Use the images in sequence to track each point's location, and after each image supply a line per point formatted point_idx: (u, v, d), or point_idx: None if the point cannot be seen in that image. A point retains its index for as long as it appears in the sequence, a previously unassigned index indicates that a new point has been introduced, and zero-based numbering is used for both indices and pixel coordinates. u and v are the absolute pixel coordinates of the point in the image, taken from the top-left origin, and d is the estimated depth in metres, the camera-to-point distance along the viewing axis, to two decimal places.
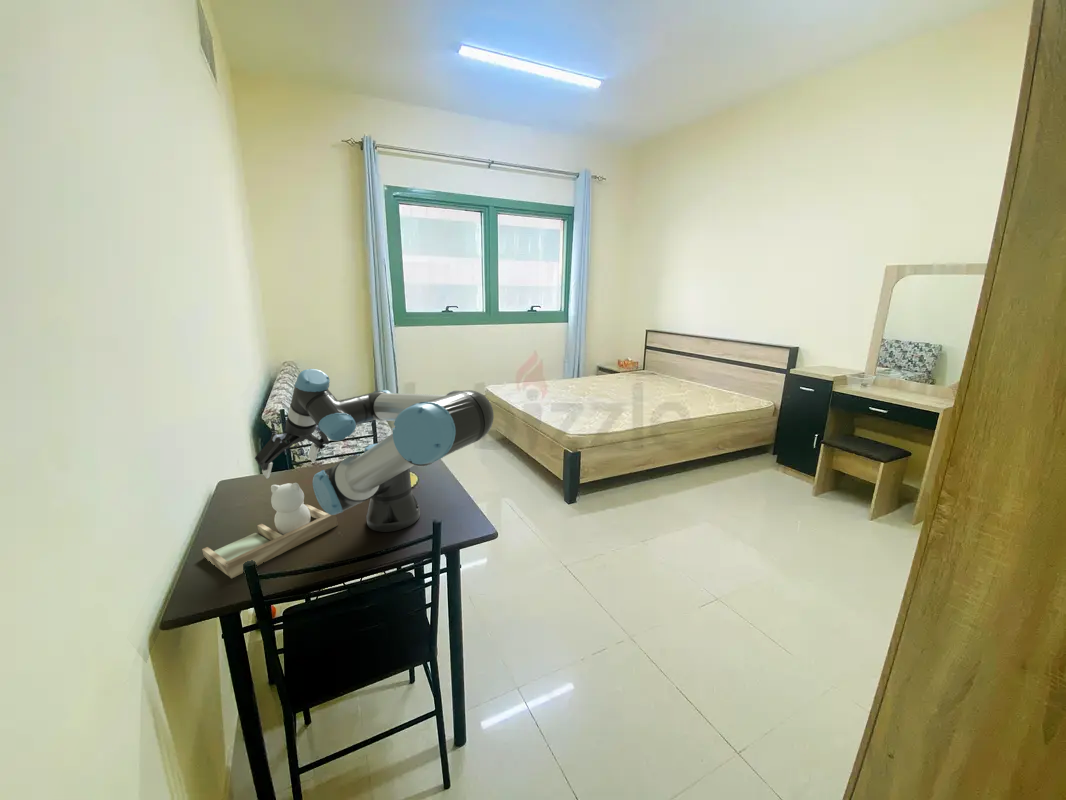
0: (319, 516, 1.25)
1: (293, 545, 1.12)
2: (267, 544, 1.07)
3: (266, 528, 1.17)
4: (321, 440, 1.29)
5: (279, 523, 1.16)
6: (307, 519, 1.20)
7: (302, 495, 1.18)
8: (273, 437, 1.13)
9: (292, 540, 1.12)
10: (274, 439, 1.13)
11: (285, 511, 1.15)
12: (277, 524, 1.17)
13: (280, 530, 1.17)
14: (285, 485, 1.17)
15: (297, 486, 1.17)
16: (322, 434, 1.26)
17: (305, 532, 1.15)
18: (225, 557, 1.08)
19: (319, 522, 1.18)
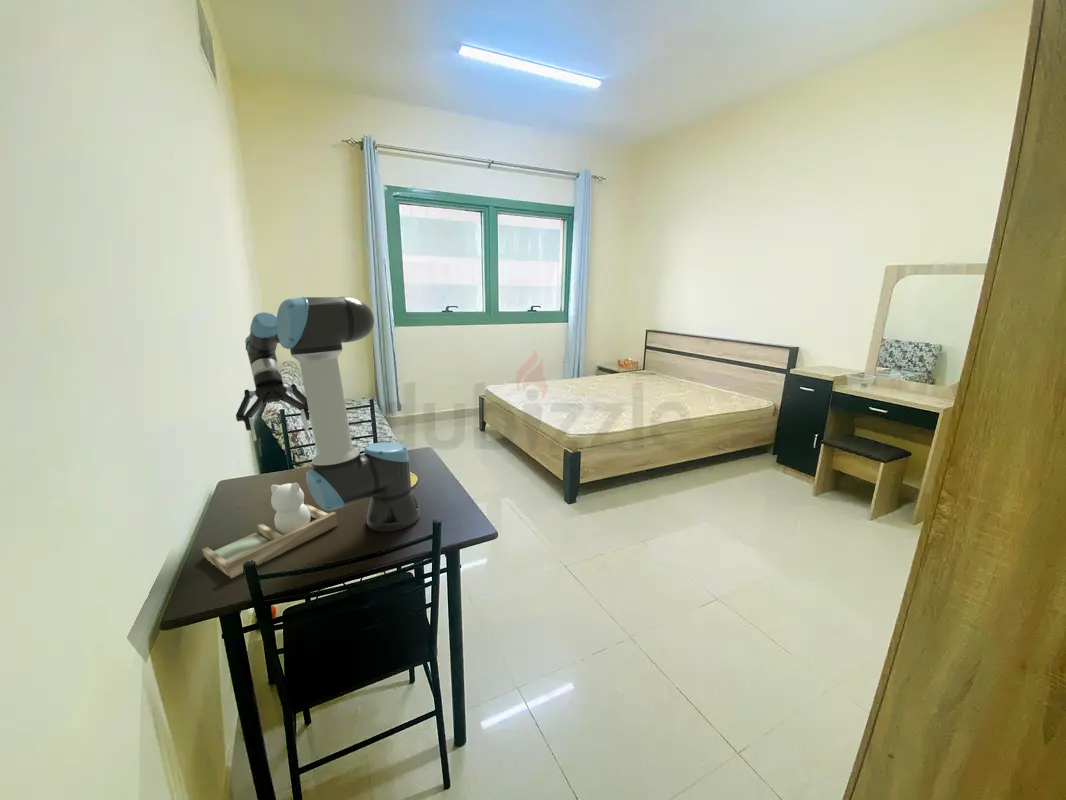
0: (319, 516, 1.25)
1: (293, 545, 1.12)
2: (267, 544, 1.07)
3: (266, 528, 1.17)
4: None
5: (279, 523, 1.16)
6: (307, 519, 1.20)
7: (302, 495, 1.18)
8: None
9: (292, 540, 1.12)
10: None
11: (285, 511, 1.15)
12: (277, 524, 1.17)
13: (280, 530, 1.17)
14: (285, 485, 1.17)
15: (297, 486, 1.17)
16: (297, 393, 1.34)
17: (305, 532, 1.15)
18: (225, 557, 1.08)
19: (319, 522, 1.18)
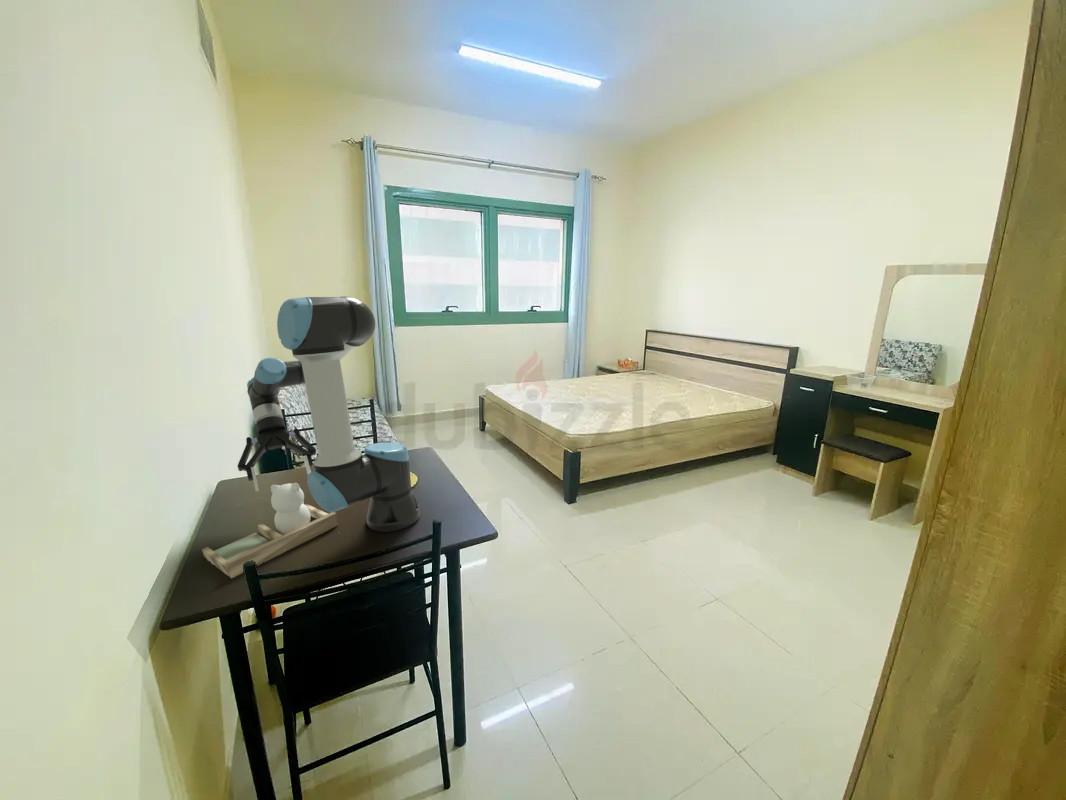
0: (319, 516, 1.25)
1: (293, 545, 1.12)
2: (267, 544, 1.07)
3: (266, 528, 1.17)
4: None
5: (279, 523, 1.16)
6: (307, 519, 1.20)
7: (302, 495, 1.18)
8: None
9: (292, 540, 1.12)
10: None
11: (285, 511, 1.15)
12: (277, 524, 1.17)
13: (280, 530, 1.17)
14: (285, 485, 1.17)
15: (297, 486, 1.17)
16: (300, 438, 1.31)
17: (305, 532, 1.15)
18: (225, 557, 1.08)
19: (319, 522, 1.18)
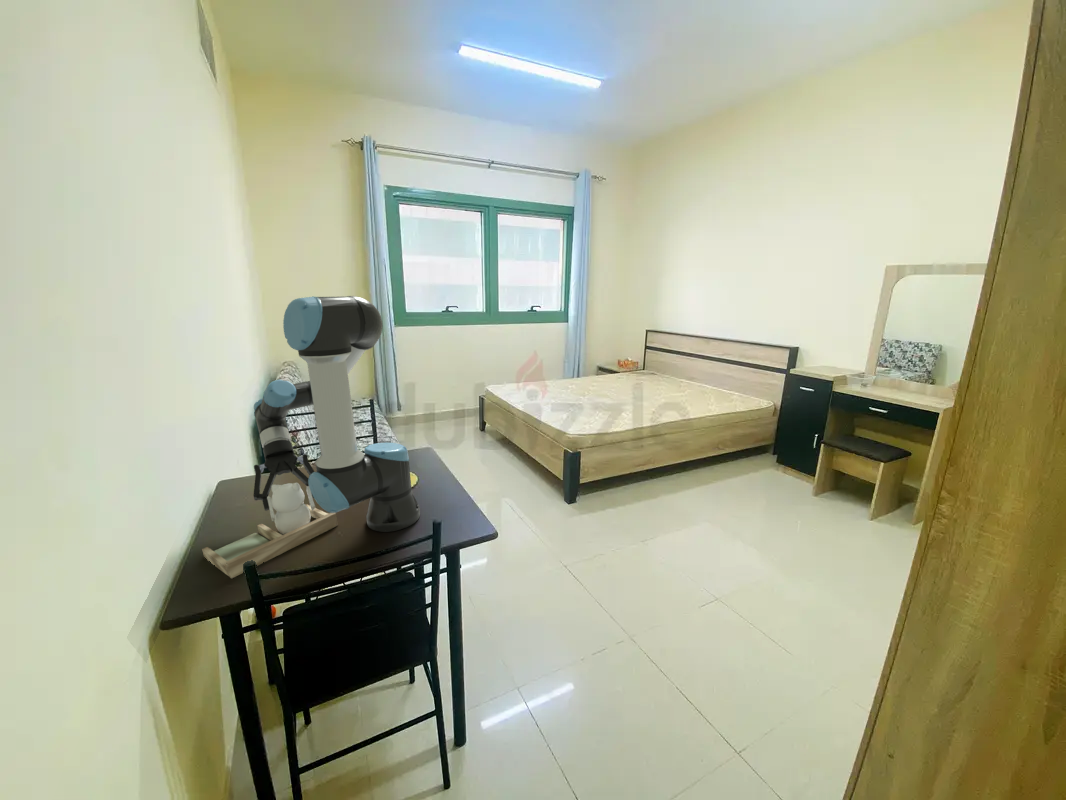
0: (319, 516, 1.25)
1: (293, 545, 1.12)
2: (267, 544, 1.07)
3: (266, 528, 1.17)
4: None
5: (279, 523, 1.16)
6: (307, 519, 1.20)
7: (302, 495, 1.18)
8: (254, 470, 1.21)
9: (292, 540, 1.12)
10: (254, 469, 1.20)
11: (285, 511, 1.15)
12: (277, 524, 1.17)
13: (280, 530, 1.17)
14: (286, 485, 1.17)
15: (298, 486, 1.17)
16: (307, 465, 1.26)
17: (305, 532, 1.15)
18: (225, 557, 1.08)
19: (319, 522, 1.18)
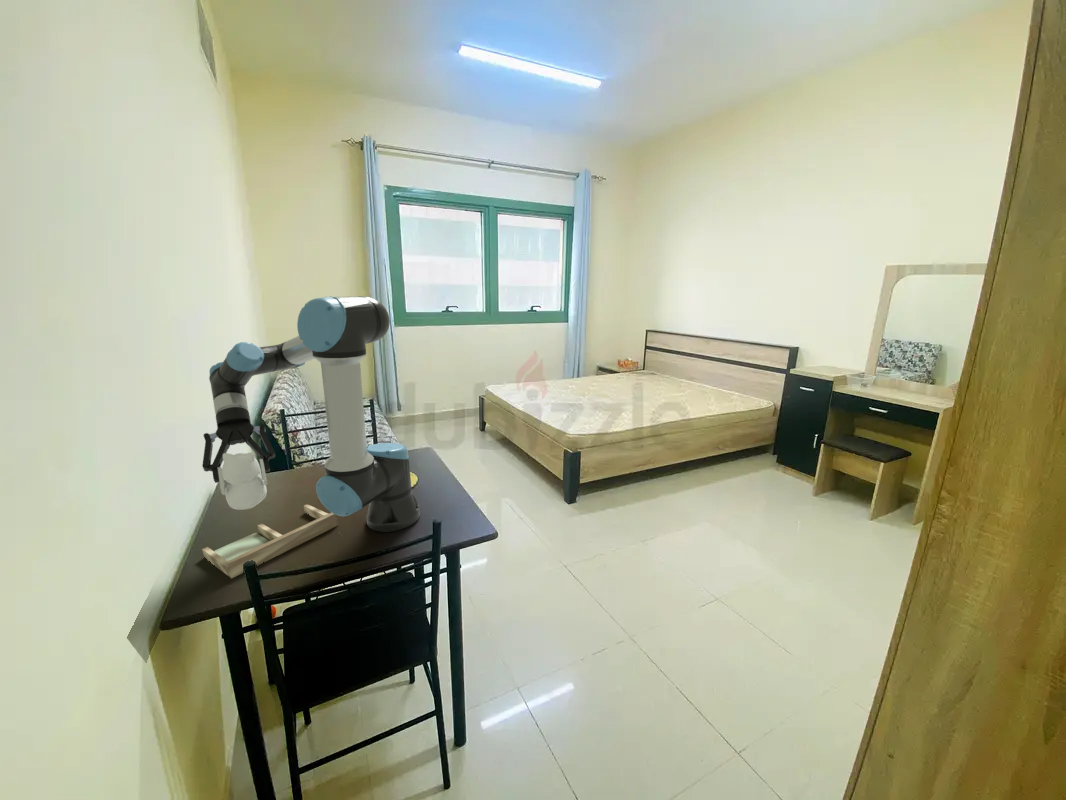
0: (319, 516, 1.25)
1: (293, 545, 1.12)
2: (267, 544, 1.07)
3: (266, 528, 1.17)
4: None
5: (229, 496, 1.06)
6: (262, 494, 1.10)
7: (257, 467, 1.08)
8: None
9: (292, 540, 1.12)
10: None
11: (236, 483, 1.05)
12: (227, 497, 1.07)
13: (230, 503, 1.07)
14: (239, 454, 1.07)
15: (252, 456, 1.07)
16: (263, 436, 1.15)
17: (305, 532, 1.15)
18: (225, 557, 1.08)
19: (319, 522, 1.18)
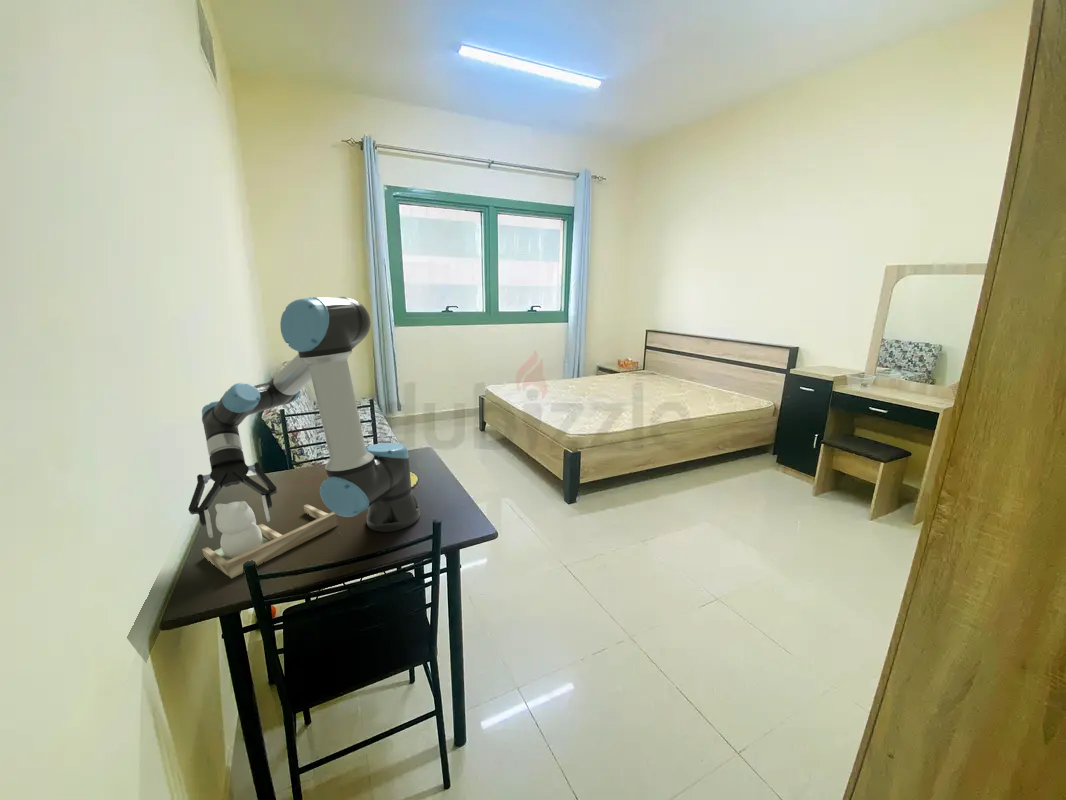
0: (319, 516, 1.25)
1: (293, 545, 1.12)
2: (267, 544, 1.07)
3: (266, 528, 1.17)
4: None
5: (225, 546, 1.06)
6: (257, 540, 1.10)
7: (251, 514, 1.08)
8: None
9: (292, 540, 1.12)
10: None
11: (231, 533, 1.04)
12: (223, 547, 1.06)
13: (226, 553, 1.06)
14: (231, 504, 1.06)
15: (245, 505, 1.06)
16: (260, 474, 1.15)
17: (305, 532, 1.15)
18: (225, 557, 1.08)
19: (319, 522, 1.18)
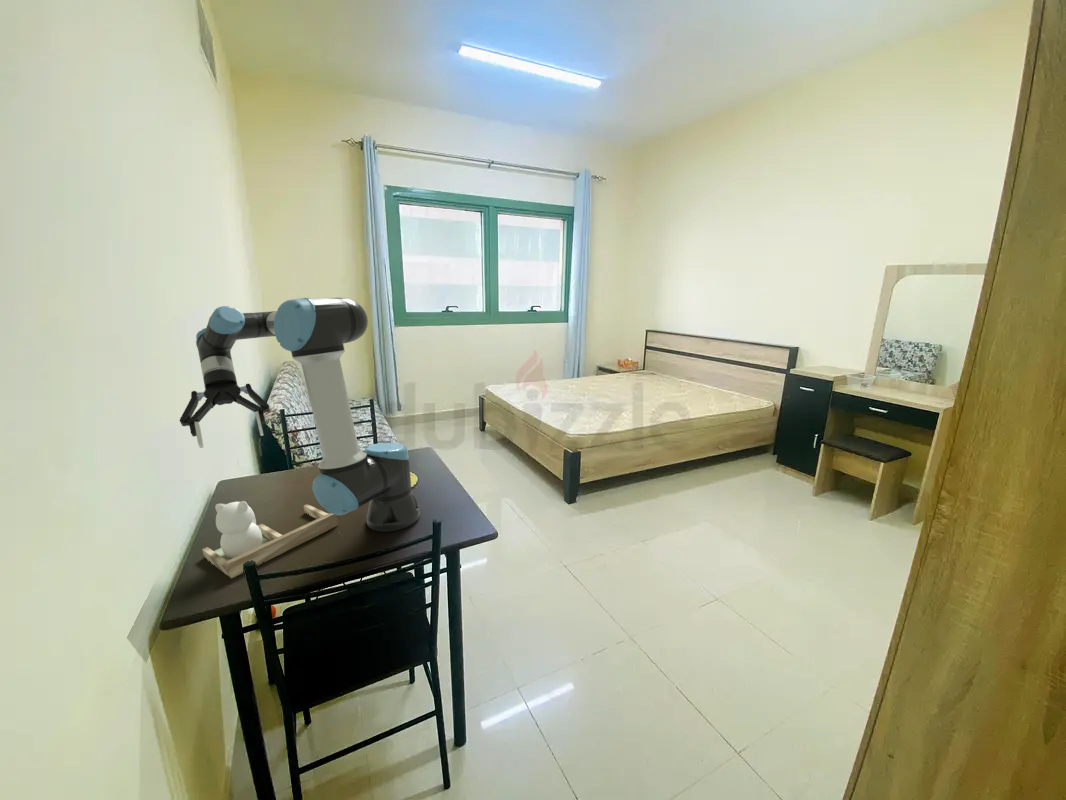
0: (319, 516, 1.25)
1: (293, 545, 1.12)
2: (267, 544, 1.07)
3: (266, 528, 1.17)
4: None
5: (225, 546, 1.06)
6: (257, 540, 1.10)
7: (251, 514, 1.08)
8: None
9: (292, 540, 1.12)
10: None
11: (231, 533, 1.04)
12: (223, 547, 1.06)
13: (226, 553, 1.06)
14: (231, 504, 1.06)
15: (245, 505, 1.06)
16: (252, 393, 1.21)
17: (305, 532, 1.15)
18: (225, 557, 1.08)
19: (319, 522, 1.18)
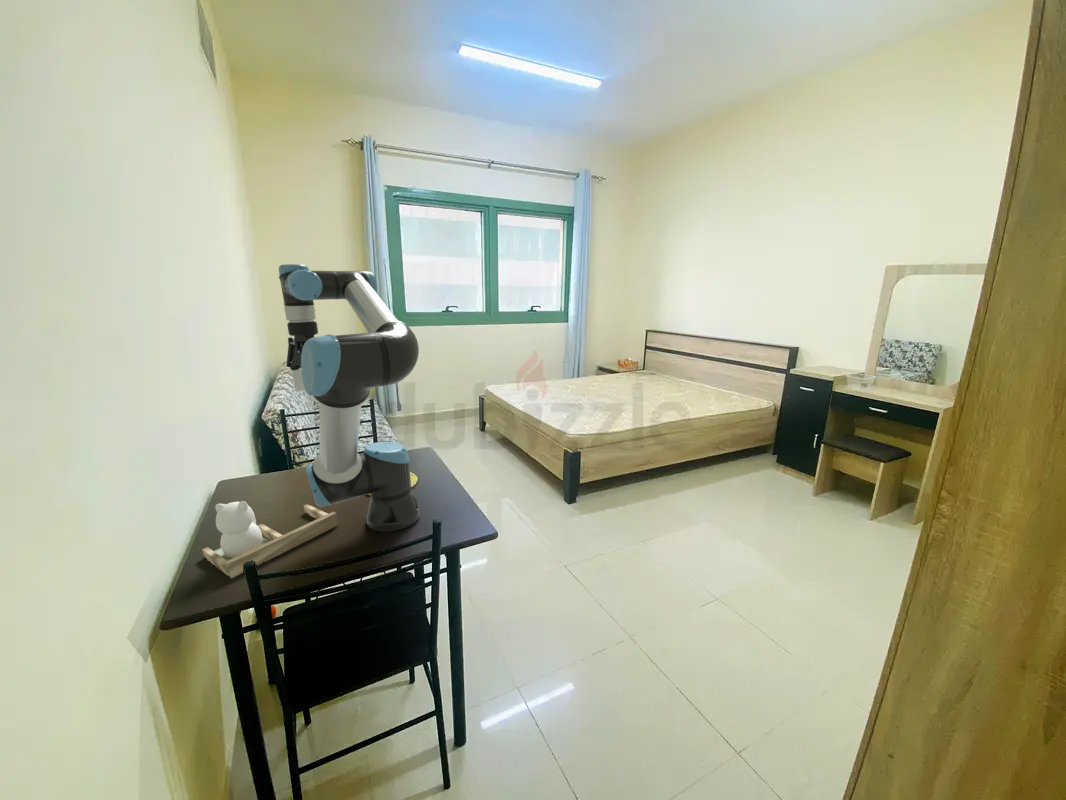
0: (319, 516, 1.25)
1: (293, 545, 1.12)
2: (267, 544, 1.07)
3: (266, 528, 1.17)
4: None
5: (225, 546, 1.06)
6: (257, 540, 1.10)
7: (251, 514, 1.08)
8: None
9: (292, 540, 1.12)
10: None
11: (231, 533, 1.04)
12: (223, 547, 1.06)
13: (226, 553, 1.06)
14: (231, 504, 1.06)
15: (245, 505, 1.06)
16: None
17: (305, 532, 1.15)
18: (225, 557, 1.08)
19: (319, 522, 1.18)
